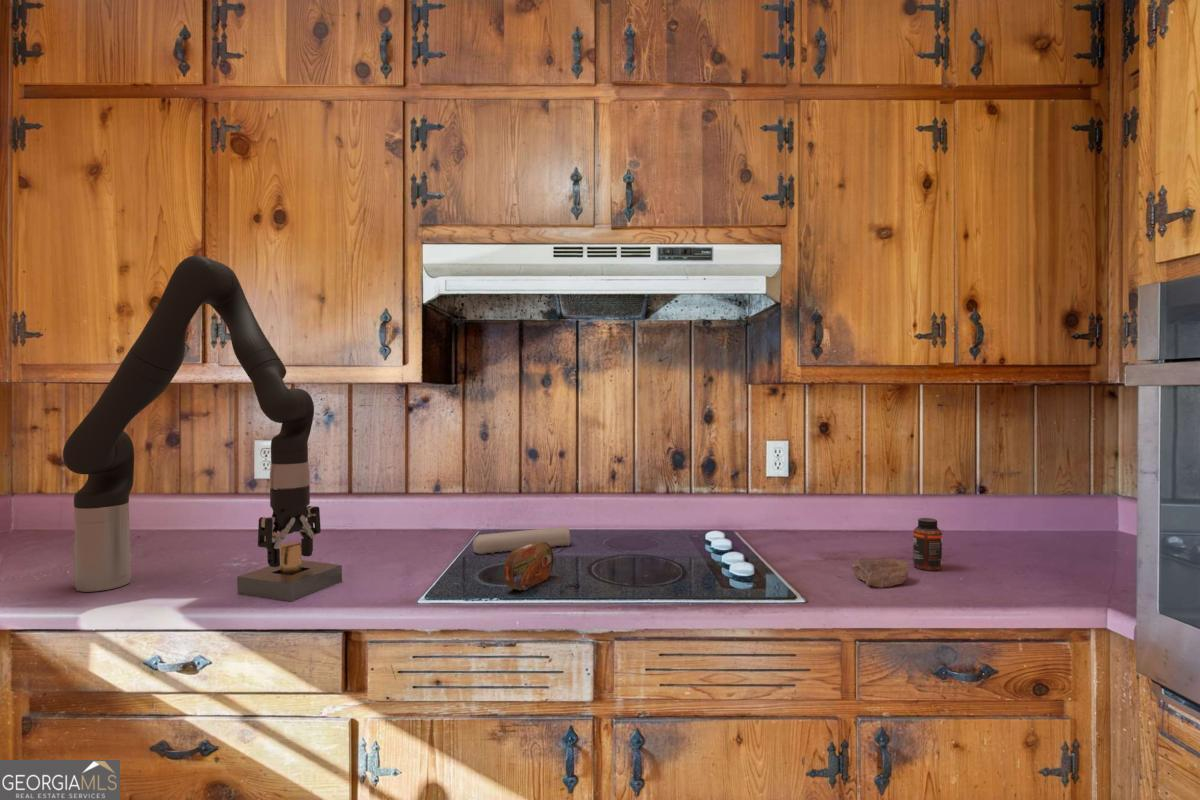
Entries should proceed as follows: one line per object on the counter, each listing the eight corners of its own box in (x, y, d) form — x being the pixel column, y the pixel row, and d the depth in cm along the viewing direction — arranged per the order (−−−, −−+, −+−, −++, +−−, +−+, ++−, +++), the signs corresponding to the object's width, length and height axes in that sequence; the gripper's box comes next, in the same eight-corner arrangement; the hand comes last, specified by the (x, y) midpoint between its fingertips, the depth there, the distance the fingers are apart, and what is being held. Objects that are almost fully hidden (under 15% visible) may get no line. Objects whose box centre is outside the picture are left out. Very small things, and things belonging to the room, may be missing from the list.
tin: (513, 596, 131) (513, 554, 131) (501, 593, 133) (501, 552, 132) (554, 576, 144) (554, 538, 144) (543, 574, 146) (542, 537, 145)
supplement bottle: (947, 569, 149) (948, 520, 149) (932, 573, 146) (932, 523, 146) (922, 563, 155) (923, 515, 154) (907, 566, 152) (908, 518, 151)
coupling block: (237, 593, 132) (237, 576, 132) (291, 574, 145) (291, 558, 145) (290, 601, 127) (290, 583, 127) (341, 581, 141) (341, 565, 140)
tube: (475, 542, 160) (571, 532, 169) (471, 530, 164) (564, 522, 174) (474, 560, 162) (569, 550, 171) (470, 549, 166) (563, 539, 175)
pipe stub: (276, 589, 135) (275, 546, 135) (291, 583, 139) (290, 541, 139) (291, 591, 134) (290, 547, 134) (306, 585, 138) (305, 543, 137)
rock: (870, 590, 135) (870, 567, 135) (843, 575, 145) (843, 554, 145) (920, 586, 137) (920, 564, 137) (890, 573, 147) (890, 552, 147)
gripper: (302, 478, 144) (303, 551, 144) (247, 488, 130) (248, 568, 131) (329, 480, 141) (330, 554, 142) (275, 490, 128) (277, 572, 128)
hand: (291, 561), depth 136 cm, fingers open, 8 cm apart
